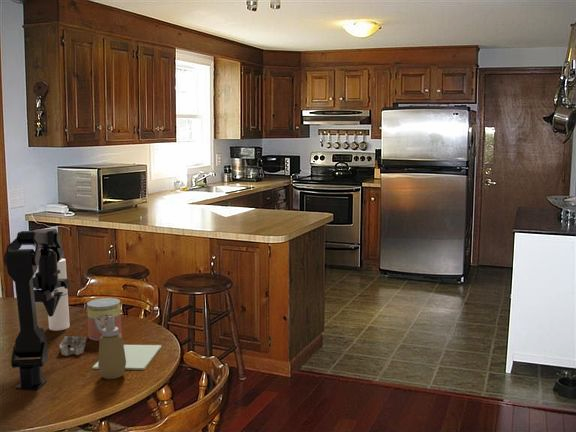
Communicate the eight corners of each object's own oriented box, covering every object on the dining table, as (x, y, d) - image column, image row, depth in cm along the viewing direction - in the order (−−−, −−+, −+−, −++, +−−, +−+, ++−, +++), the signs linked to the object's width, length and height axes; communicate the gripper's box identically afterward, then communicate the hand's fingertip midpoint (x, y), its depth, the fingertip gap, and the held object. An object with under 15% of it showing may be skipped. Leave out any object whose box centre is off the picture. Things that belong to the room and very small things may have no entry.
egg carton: (82, 355, 210) (82, 343, 209) (58, 357, 209) (57, 344, 208) (88, 344, 220) (87, 332, 220) (65, 345, 220) (64, 333, 219)
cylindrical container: (48, 331, 234) (43, 263, 230) (49, 325, 241) (45, 259, 237) (69, 329, 236) (65, 261, 232) (70, 323, 243) (66, 257, 239)
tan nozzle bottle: (96, 373, 194) (93, 315, 192) (124, 368, 198) (121, 311, 195) (101, 383, 187) (97, 322, 184) (129, 378, 190) (126, 318, 188)
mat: (144, 369, 197) (144, 367, 197) (92, 368, 198) (92, 367, 198) (161, 346, 216) (161, 345, 216) (114, 346, 218) (114, 344, 218)
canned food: (89, 342, 222) (87, 308, 220) (88, 332, 233) (86, 299, 231) (123, 338, 225) (121, 304, 224) (120, 328, 236) (119, 296, 234)
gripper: (36, 261, 216) (39, 307, 218) (8, 275, 197) (12, 324, 199) (69, 261, 215) (72, 307, 217) (44, 275, 196) (47, 325, 199)
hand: (51, 316), depth 208 cm, fingers closed
